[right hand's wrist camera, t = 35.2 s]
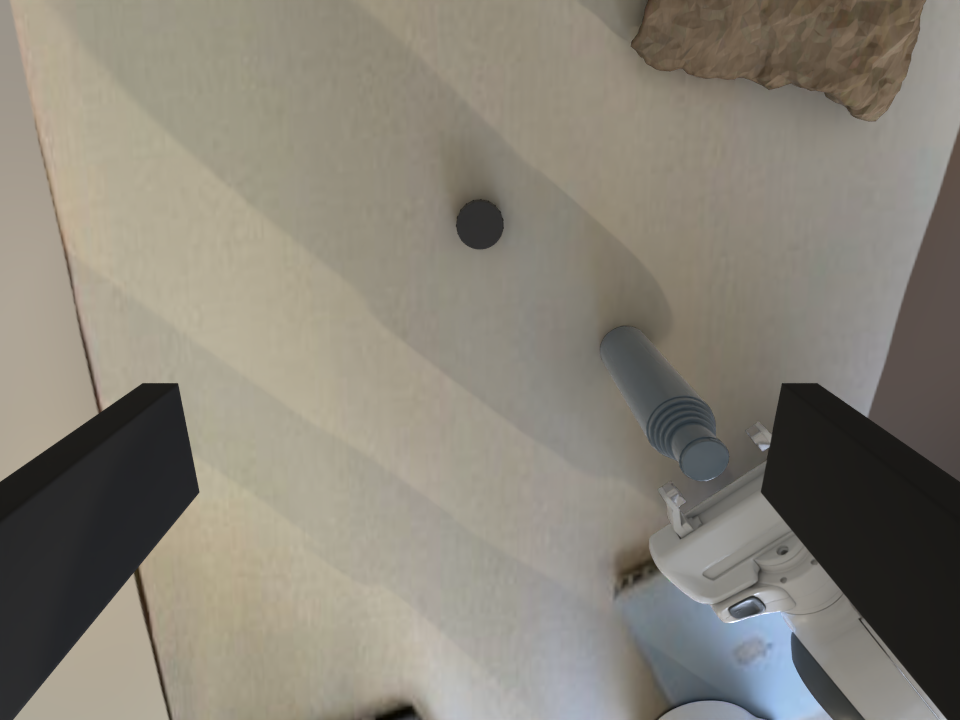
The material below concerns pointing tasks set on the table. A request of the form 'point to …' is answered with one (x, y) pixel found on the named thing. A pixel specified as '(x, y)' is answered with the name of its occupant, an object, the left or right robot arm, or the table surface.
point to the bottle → (664, 404)
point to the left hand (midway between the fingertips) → (709, 459)
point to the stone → (789, 44)
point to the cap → (479, 224)
